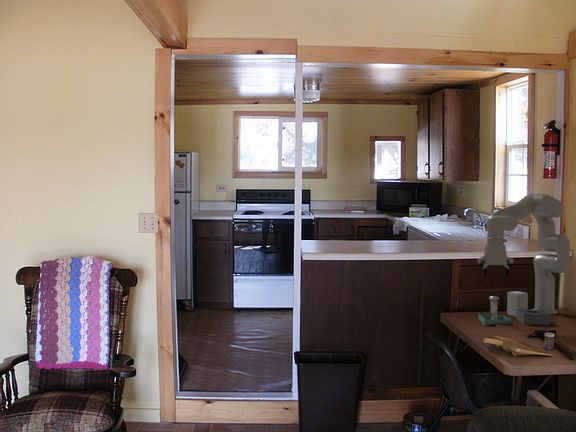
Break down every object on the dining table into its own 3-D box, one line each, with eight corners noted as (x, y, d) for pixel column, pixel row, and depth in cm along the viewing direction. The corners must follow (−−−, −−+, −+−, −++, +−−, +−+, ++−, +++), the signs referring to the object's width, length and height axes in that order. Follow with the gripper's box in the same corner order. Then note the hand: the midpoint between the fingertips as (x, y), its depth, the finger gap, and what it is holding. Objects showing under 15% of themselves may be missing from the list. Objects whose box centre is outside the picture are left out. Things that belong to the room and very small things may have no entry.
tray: (478, 320, 278) (478, 314, 278) (503, 320, 276) (503, 315, 276) (484, 325, 266) (484, 319, 266) (511, 326, 264) (511, 320, 264)
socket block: (516, 321, 275) (516, 309, 275) (541, 321, 274) (541, 309, 274) (524, 326, 263) (524, 314, 263) (550, 327, 262) (550, 314, 262)
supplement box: (528, 317, 285) (528, 293, 284) (517, 318, 282) (517, 293, 282) (517, 314, 292) (517, 290, 291) (506, 315, 289) (506, 291, 289)
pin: (488, 320, 273) (488, 296, 273) (497, 320, 273) (497, 296, 273) (490, 322, 269) (490, 297, 269) (499, 322, 269) (500, 297, 268)
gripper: (511, 241, 273) (511, 275, 274) (475, 241, 275) (475, 275, 275) (516, 242, 266) (516, 277, 266) (479, 242, 267) (479, 277, 268)
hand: (495, 276), depth 271 cm, fingers open, 9 cm apart
